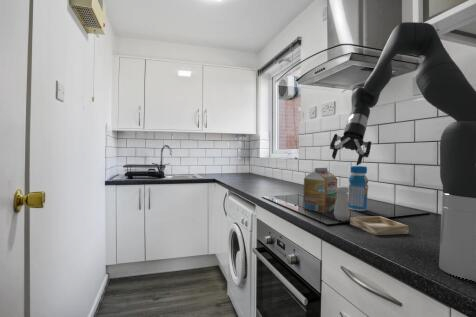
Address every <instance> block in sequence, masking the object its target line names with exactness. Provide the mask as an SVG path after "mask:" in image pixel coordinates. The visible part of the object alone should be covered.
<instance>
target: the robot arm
mask: <svg viewBox="0 0 476 317" xmlns="http://www.w3.org/2000/svg"><path fill="white" fill-rule="evenodd" d="M398 55H403V56H405V55H406V56H416V57H417V58H419V60H420V61H421V64H420V66H419V68H418V70H417V71H416V74H415V75H416V76H415V83H416V86H417V88H418V90H419V91H420V93H421V95H422V97H423V98H424V99H425V101H426V102H428V103H429V104H430V105H432V107H434V108H436V109H437V110H439V111H441V112H442V113H444V114H446V115H447V116H449V117H451V118H452V119H453V120H455V122H451V123H450V124H448V125H447V126H446V127H445V128H444V129H443V131H442V134H441V137H440V139H439V140H440V141H439V178H440V182H441V184H442V197H441V199H442V200H441V215H440V216H441V217H440V234H439V236H440V237H439V256H438V257H439V259H438V260H439V261H438V267H439V268H440V270H442V272H445V273H446V274H449V275H450V274H451V275H450V276H453V275H454V277H456V276H457V277H456V278H458V277H460V278H459V279H462V278H464V279H463V280H465V279H468V280H467V281H469V280H472V281H475V282H476V89H475V88H474V87H473V86H472V84H471V83H470V82H469V81H468V79H467V78H466V76H465V73H463V71H462V70H461V69H460V67H459V66H458V65H457V64H456V62H455V61H454V60H453V58H452V56H451V55H450V54H449V52H448V51H447V50H446V48H445V46H444V45H443V43H442V40H441V38H440V36H439V33H438V32H437V30H436V28H435V26H434V25H432V24H431V23H428V22H413V21H411V22H410V21H409V22H408V21H406V22H401V23H398V24H397V25H396V26H395V27H394V29H393V30H392V32H391V33H390V35H389V38H388V39H387V41H386V43H385V46H384V48H383V50H382V52H381V54H380V57H379V58H378V60H377V63H376V65H375V67H374V69H373V71H372V72H371V74H370V75H369V76H368V78H367V79H366V80H365V83H364V85H363V86H362V87H361V86H360V87H356V88H355V89H354V90H353V92H352V93H351V97H350V98H351V100H350V103H351V111H350V114H349V118H348V120H347V122H346V124H345V129H344V131H343V134H342V135H338V133H334V135H333V137H332V140H331V142H330V144H329V149H330V150H333V151H332V153H331V158H333V159H332V160H336V157H337V154H338V151H340V150H343V149H346V150H351V151H355V152H356V154H358V157H357V161H356V165H355V166H360V165H361V164H362V163H363V162H362V161H363V158H367V159H368V158H369V155H370V152H371V147H372V141H371V140H369V141H364V138H365V134H366V131H367V126H368V122H369V118H370V114H371V108H374V107H375V106H376V105H377V103H379V99H380V96H381V93H382V91H383V90H384V88H385V87H386V86H387V85H388V84H389V83H390V81H391V80H392V78H393V77H392V76H393V66H392V61H393V59H394V58H395V57H396V56H398ZM338 141H340V142H339V143H338V144H336V142H338ZM335 144H336V145H335ZM362 146H364V148H365V149H366V150H365V151H363V149H362ZM472 281H471V282H472ZM475 282H474V283H475Z"/></svg>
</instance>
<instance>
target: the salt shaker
mask: <svg viewBox="0 0 476 317" xmlns="http://www.w3.org/2000/svg"><path fill="white" fill-rule="evenodd" d="M336 191H337V200H336V204H335V208H334V211H333V215H334V218H335V220H336V219H337V220H336V221H339V220H342V221H341V222H346V220H347V221H348V220H349V219H350V217H351V216H350V215H351V213H350V209H349V206H348V191H349V189H348V186H345V185H339V186H338V185H337V189H336Z"/></svg>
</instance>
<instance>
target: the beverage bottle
mask: <svg viewBox="0 0 476 317" xmlns="http://www.w3.org/2000/svg"><path fill="white" fill-rule="evenodd" d="M367 172H368V168H367V166H365V165H364V166H362V165H351V166H350V174H351V175H350V176H349V179H348V182H349V183H348V184H347V187H348V189H349V191H348V193H347V199H348V206H349V210H351V211H355V210H356V212H363V211H365V210H366V211H367V210H368V195H369V194H368V192H369V185H368V183H369V179H368V177H367Z"/></svg>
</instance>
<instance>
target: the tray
mask: <svg viewBox="0 0 476 317" xmlns="http://www.w3.org/2000/svg"><path fill="white" fill-rule="evenodd" d="M349 224H350V226H351V225H352V226H354V227H355V228H359V229H361V230H363V231H366V232H367V233H369V234H372V235H374V236H385V235H387V236H388V235H389V236H390V235H404V234H405V235H407V234H409V227H410V226H409V225H407V224H403V223H401V222H398V221H395V220H392V219H389V218H386V217H383V216H381V215H380V216H379V215H375V216H372V215H371V216H370V215H369V216H349Z"/></svg>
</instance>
